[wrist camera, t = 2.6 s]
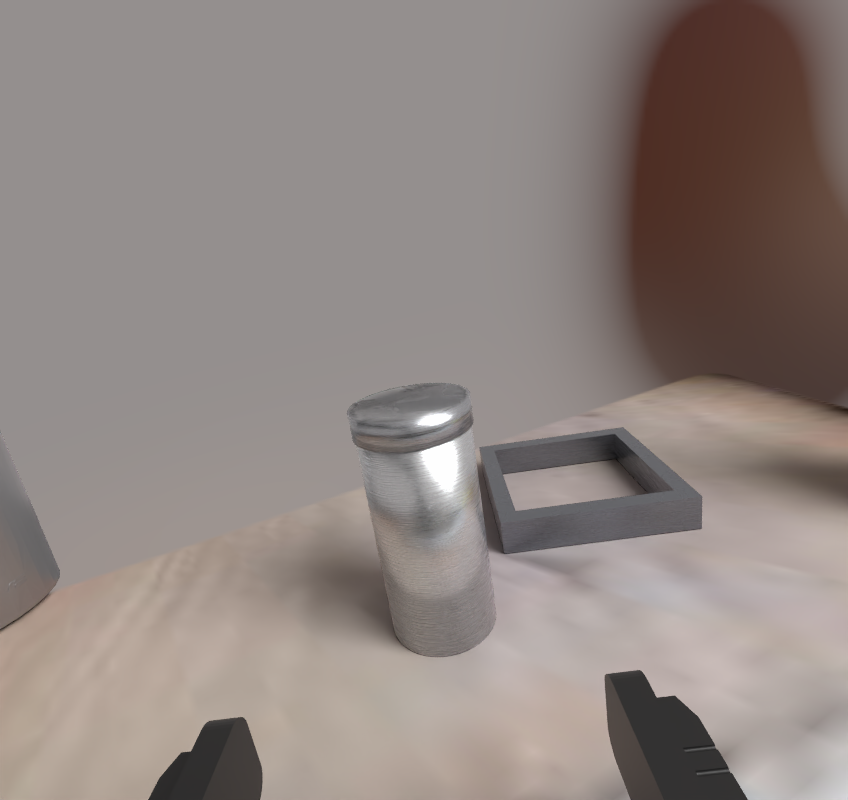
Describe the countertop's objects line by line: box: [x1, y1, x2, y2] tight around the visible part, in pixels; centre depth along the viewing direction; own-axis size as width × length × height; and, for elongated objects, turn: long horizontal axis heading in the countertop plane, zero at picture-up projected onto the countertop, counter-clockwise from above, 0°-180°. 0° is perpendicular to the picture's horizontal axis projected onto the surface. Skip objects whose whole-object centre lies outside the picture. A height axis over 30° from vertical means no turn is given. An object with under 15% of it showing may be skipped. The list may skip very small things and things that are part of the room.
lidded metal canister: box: [347, 383, 496, 657], centre depth 22 cm, size 5×5×11 cm
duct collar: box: [479, 427, 702, 554], centre depth 32 cm, size 11×11×2 cm
